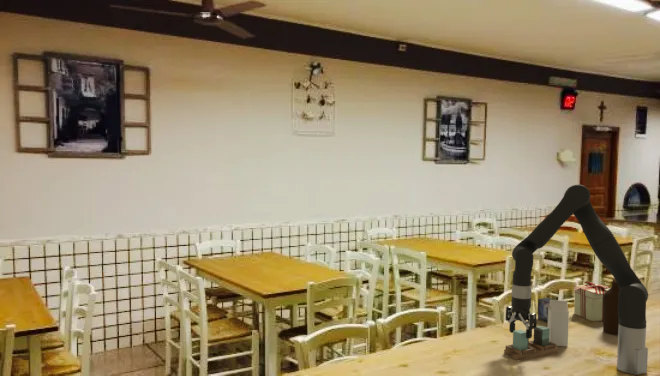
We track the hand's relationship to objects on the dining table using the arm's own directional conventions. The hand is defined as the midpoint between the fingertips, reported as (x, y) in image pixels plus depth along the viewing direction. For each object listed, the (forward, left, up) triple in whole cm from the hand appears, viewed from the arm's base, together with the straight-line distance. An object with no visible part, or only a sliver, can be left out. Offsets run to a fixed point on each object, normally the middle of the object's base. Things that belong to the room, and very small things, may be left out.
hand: (520, 335), depth 226 cm
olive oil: (+4, -64, -9) cm, 65 cm away
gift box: (+25, -77, -9) cm, 82 cm away
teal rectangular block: (0, 0, -6) cm, 6 cm away
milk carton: (+4, -26, -9) cm, 28 cm away
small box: (+30, -51, -9) cm, 60 cm away
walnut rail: (0, -6, -8) cm, 11 cm away
